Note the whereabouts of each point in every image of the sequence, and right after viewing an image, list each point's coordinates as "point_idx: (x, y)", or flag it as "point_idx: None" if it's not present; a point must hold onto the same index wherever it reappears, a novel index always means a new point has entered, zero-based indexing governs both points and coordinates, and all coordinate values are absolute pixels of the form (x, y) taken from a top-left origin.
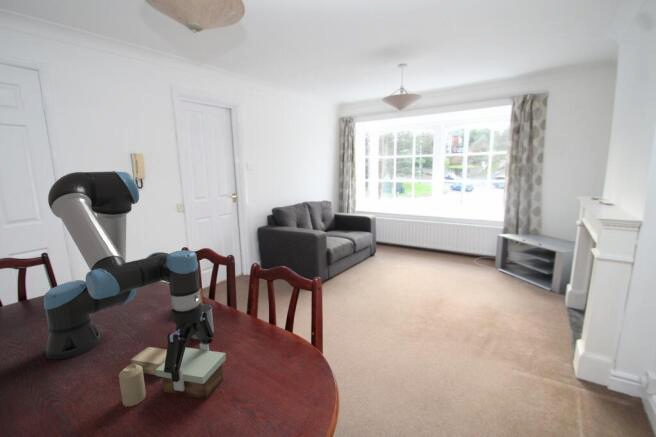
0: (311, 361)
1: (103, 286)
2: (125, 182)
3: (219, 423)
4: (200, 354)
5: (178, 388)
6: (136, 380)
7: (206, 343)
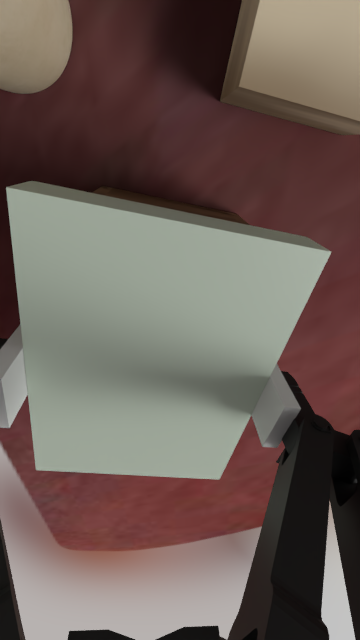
0: (250, 518)
1: None
2: None
3: (17, 428)
4: (215, 398)
5: None
6: None
7: (283, 437)
